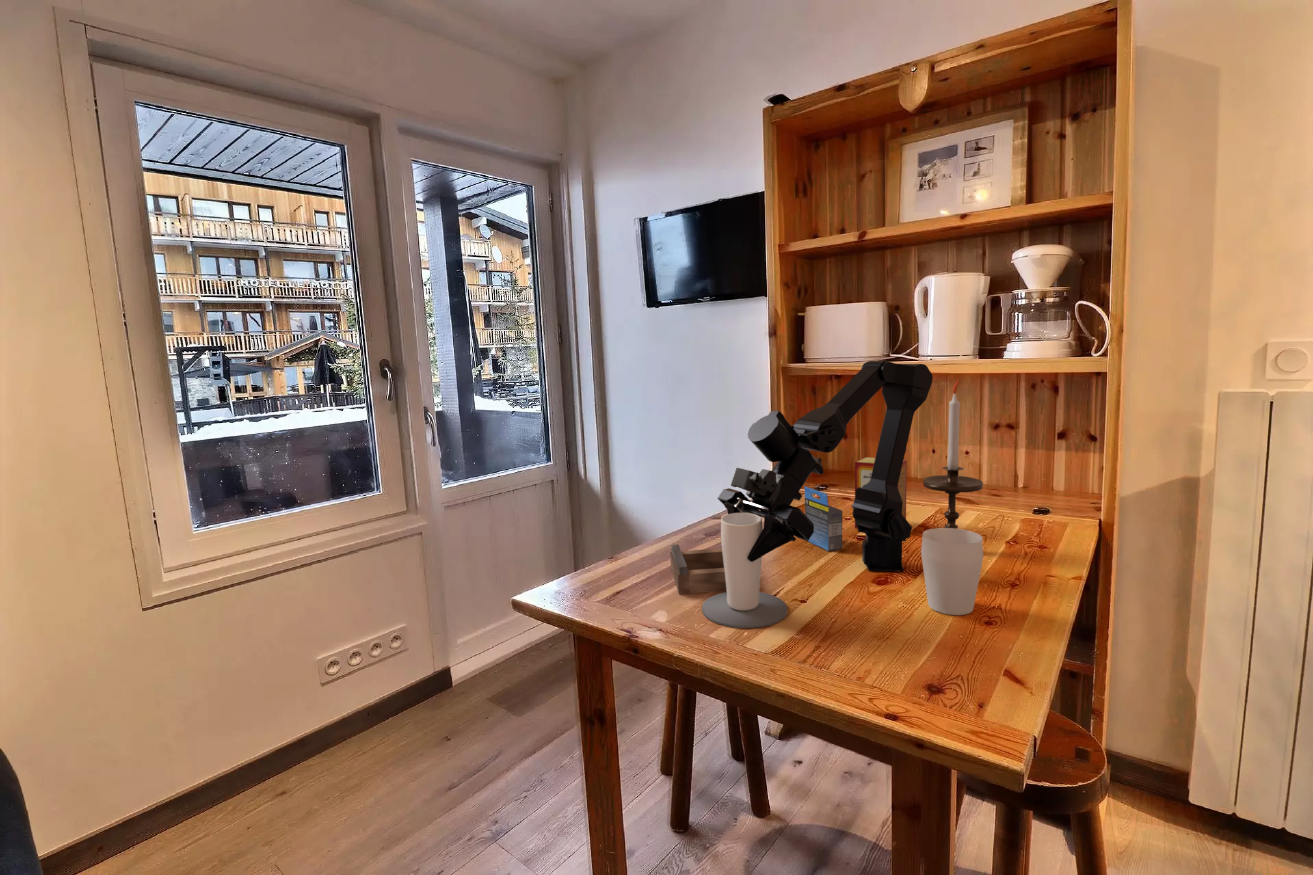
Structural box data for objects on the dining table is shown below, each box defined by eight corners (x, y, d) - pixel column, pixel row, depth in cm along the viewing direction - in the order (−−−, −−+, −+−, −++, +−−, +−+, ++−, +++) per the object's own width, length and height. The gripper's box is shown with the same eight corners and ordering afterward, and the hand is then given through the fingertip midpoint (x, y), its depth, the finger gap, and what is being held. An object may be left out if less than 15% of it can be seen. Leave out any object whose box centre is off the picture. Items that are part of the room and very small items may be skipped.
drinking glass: (752, 618, 102) (750, 528, 99) (715, 608, 106) (712, 521, 103) (770, 601, 108) (769, 516, 105) (735, 592, 112) (733, 510, 109)
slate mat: (785, 594, 112) (785, 591, 112) (789, 629, 99) (789, 626, 99) (705, 592, 115) (705, 589, 114) (698, 626, 101) (698, 623, 101)
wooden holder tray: (735, 564, 128) (734, 540, 128) (750, 588, 115) (750, 562, 115) (670, 568, 127) (669, 544, 127) (678, 593, 114) (677, 567, 114)
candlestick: (993, 554, 128) (999, 377, 122) (947, 562, 125) (952, 381, 119) (953, 539, 138) (957, 375, 133) (910, 545, 135) (913, 378, 130)
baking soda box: (854, 528, 149) (855, 460, 147) (865, 521, 154) (865, 455, 152) (896, 534, 143) (897, 463, 141) (905, 527, 148) (906, 458, 146)
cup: (978, 623, 98) (980, 547, 96) (915, 612, 103) (916, 540, 101) (984, 602, 106) (986, 531, 104) (925, 592, 110) (926, 525, 109)
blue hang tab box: (843, 549, 135) (843, 491, 133) (827, 552, 133) (827, 494, 132) (819, 537, 143) (818, 483, 141) (804, 540, 142) (803, 485, 140)
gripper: (725, 442, 113) (674, 514, 109) (800, 456, 97) (743, 541, 93) (760, 480, 118) (713, 550, 114) (837, 499, 102) (785, 581, 98)
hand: (735, 554), depth 104 cm, fingers closed on drinking glass, 6 cm apart
